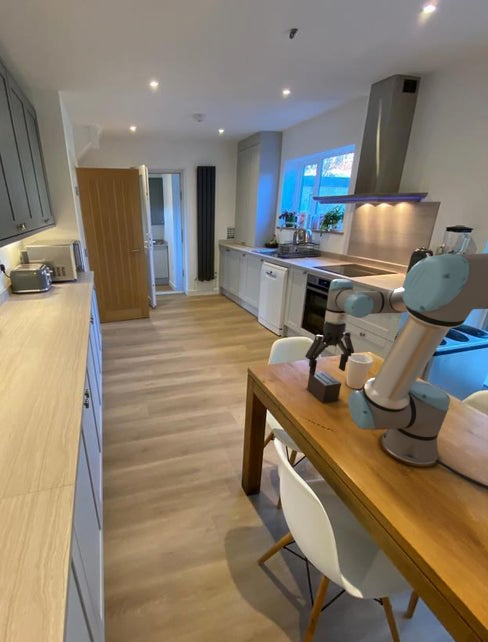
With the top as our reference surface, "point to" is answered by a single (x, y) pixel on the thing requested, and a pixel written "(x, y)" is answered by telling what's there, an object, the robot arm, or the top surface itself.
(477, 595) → the top surface
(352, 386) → the foam cup
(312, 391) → the dark slotted box
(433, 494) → the top surface
